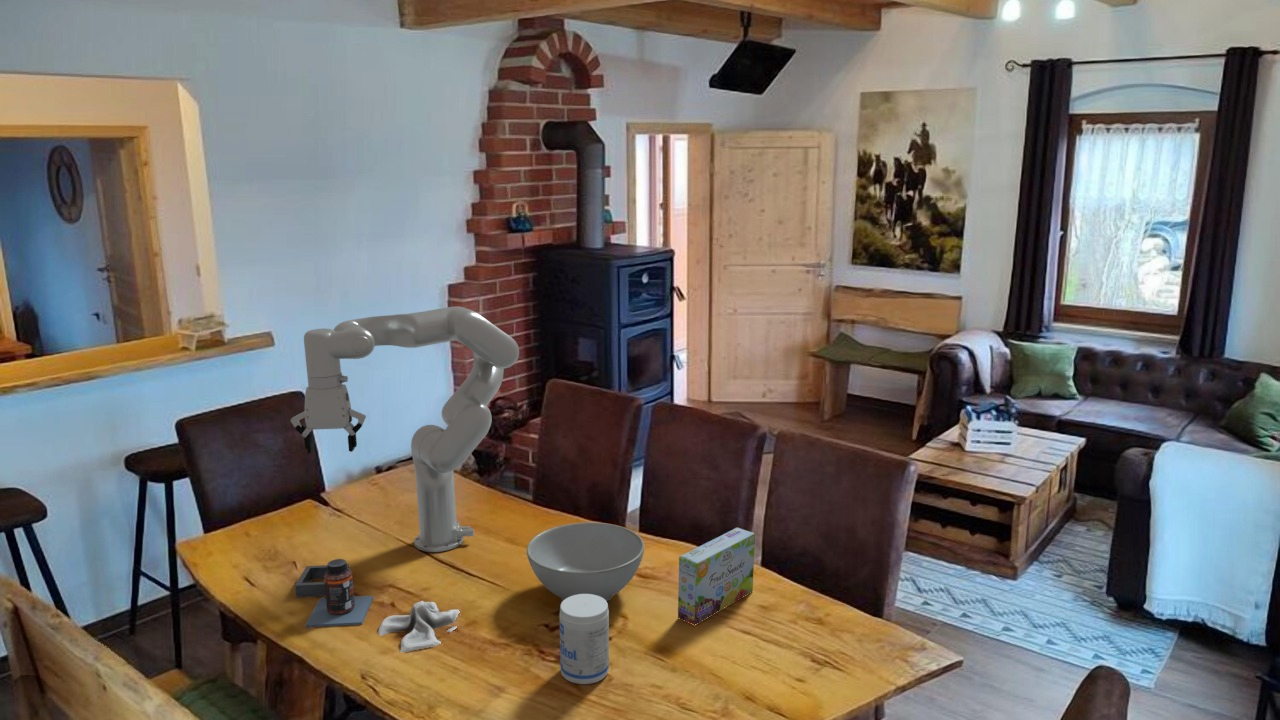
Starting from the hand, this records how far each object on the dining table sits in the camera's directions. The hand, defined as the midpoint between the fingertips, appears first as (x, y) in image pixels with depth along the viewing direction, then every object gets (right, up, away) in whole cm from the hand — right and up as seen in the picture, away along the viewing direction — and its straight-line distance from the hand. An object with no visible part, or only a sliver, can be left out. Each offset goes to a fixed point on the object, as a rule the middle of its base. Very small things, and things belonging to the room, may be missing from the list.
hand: (331, 450), depth 218 cm
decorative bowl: (+62, -33, -8) cm, 70 cm away
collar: (-1, -32, -3) cm, 32 cm away
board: (+7, -35, -15) cm, 38 cm away
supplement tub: (+63, -40, -39) cm, 84 cm away
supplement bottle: (+7, -34, -15) cm, 38 cm away
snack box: (+91, -34, -14) cm, 98 cm away
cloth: (+28, -36, -20) cm, 50 cm away
